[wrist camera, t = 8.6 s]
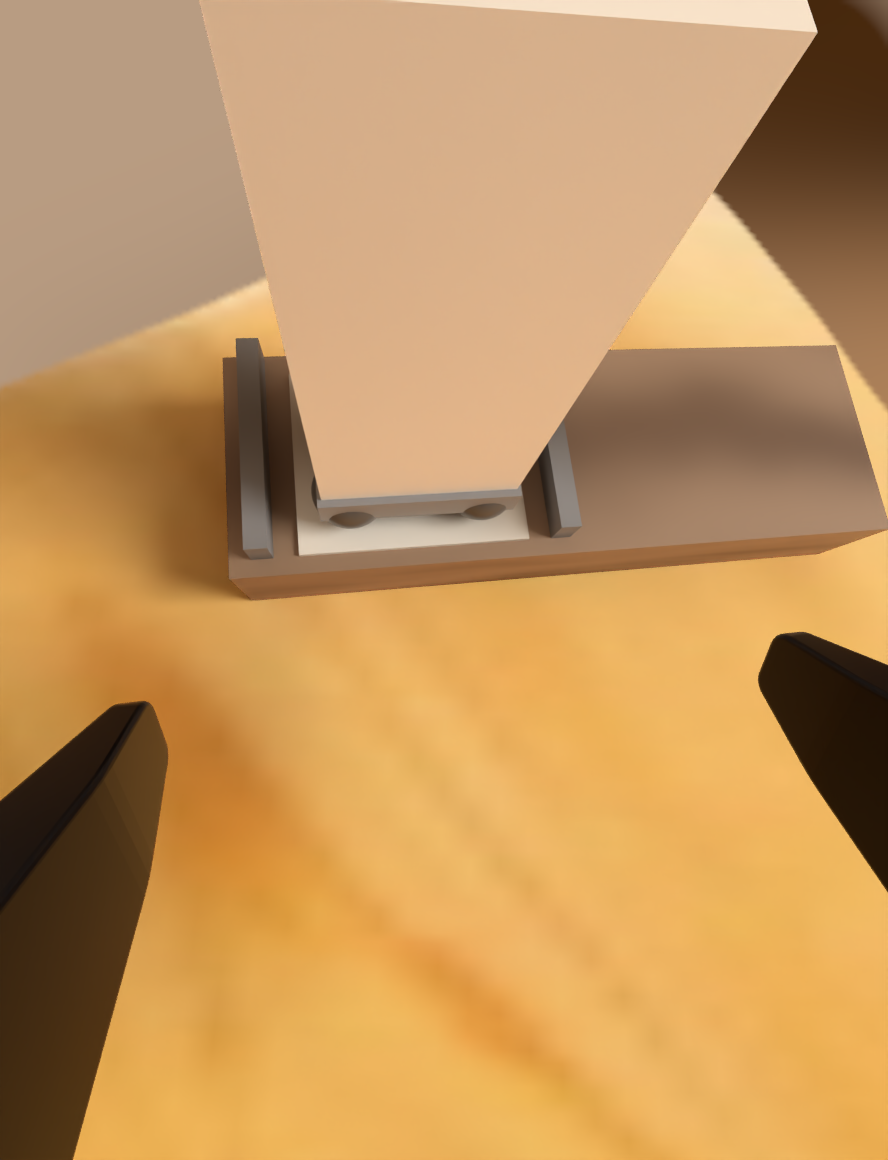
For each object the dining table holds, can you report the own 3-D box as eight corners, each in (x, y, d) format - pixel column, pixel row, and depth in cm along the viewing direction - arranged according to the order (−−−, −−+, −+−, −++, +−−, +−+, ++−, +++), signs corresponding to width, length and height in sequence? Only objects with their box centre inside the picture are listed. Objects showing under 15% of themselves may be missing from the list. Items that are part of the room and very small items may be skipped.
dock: (818, 553, 21) (919, 518, 17) (252, 600, 18) (219, 570, 14) (775, 392, 22) (860, 326, 19) (245, 410, 19) (213, 335, 15)
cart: (512, 527, 16) (861, 70, 5) (317, 540, 15) (151, 25, 4) (490, 381, 17) (734, -294, 6) (307, 386, 16) (152, -391, 5)
